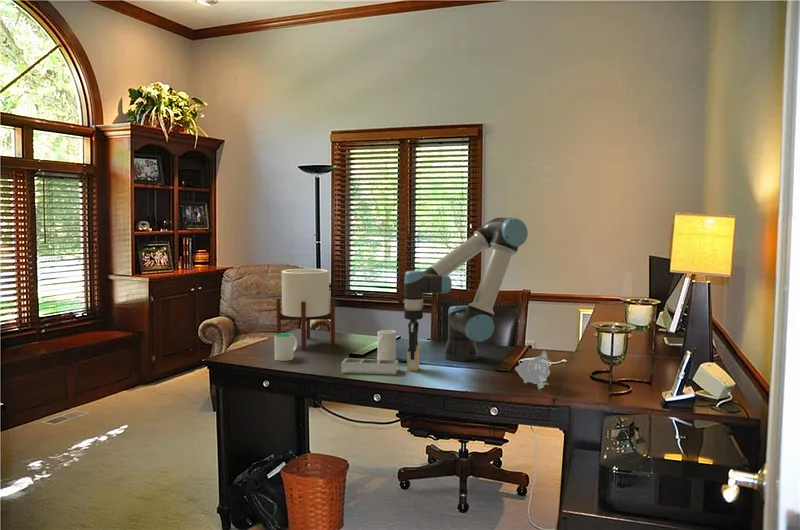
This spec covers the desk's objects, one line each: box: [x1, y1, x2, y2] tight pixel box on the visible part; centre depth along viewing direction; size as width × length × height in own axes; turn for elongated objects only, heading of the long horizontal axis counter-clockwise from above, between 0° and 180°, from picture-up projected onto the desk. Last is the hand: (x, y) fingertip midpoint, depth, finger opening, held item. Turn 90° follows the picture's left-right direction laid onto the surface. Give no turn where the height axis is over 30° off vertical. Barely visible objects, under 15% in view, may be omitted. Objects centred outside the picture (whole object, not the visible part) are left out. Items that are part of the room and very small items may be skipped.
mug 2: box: [376, 329, 397, 360], centre depth 274 cm, size 12×8×12 cm
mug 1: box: [273, 332, 298, 362], centre depth 276 cm, size 12×8×10 cm
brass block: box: [406, 343, 420, 372], centre depth 257 cm, size 4×4×10 cm
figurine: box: [514, 350, 552, 390], centre depth 233 cm, size 10×15×14 cm
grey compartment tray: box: [340, 357, 399, 376], centre depth 254 cm, size 22×8×4 cm, turn 83°
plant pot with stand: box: [275, 268, 336, 352], centre depth 303 cm, size 22×22×36 cm
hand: (413, 365), depth 257 cm, fingers closed on brass block, 4 cm apart
